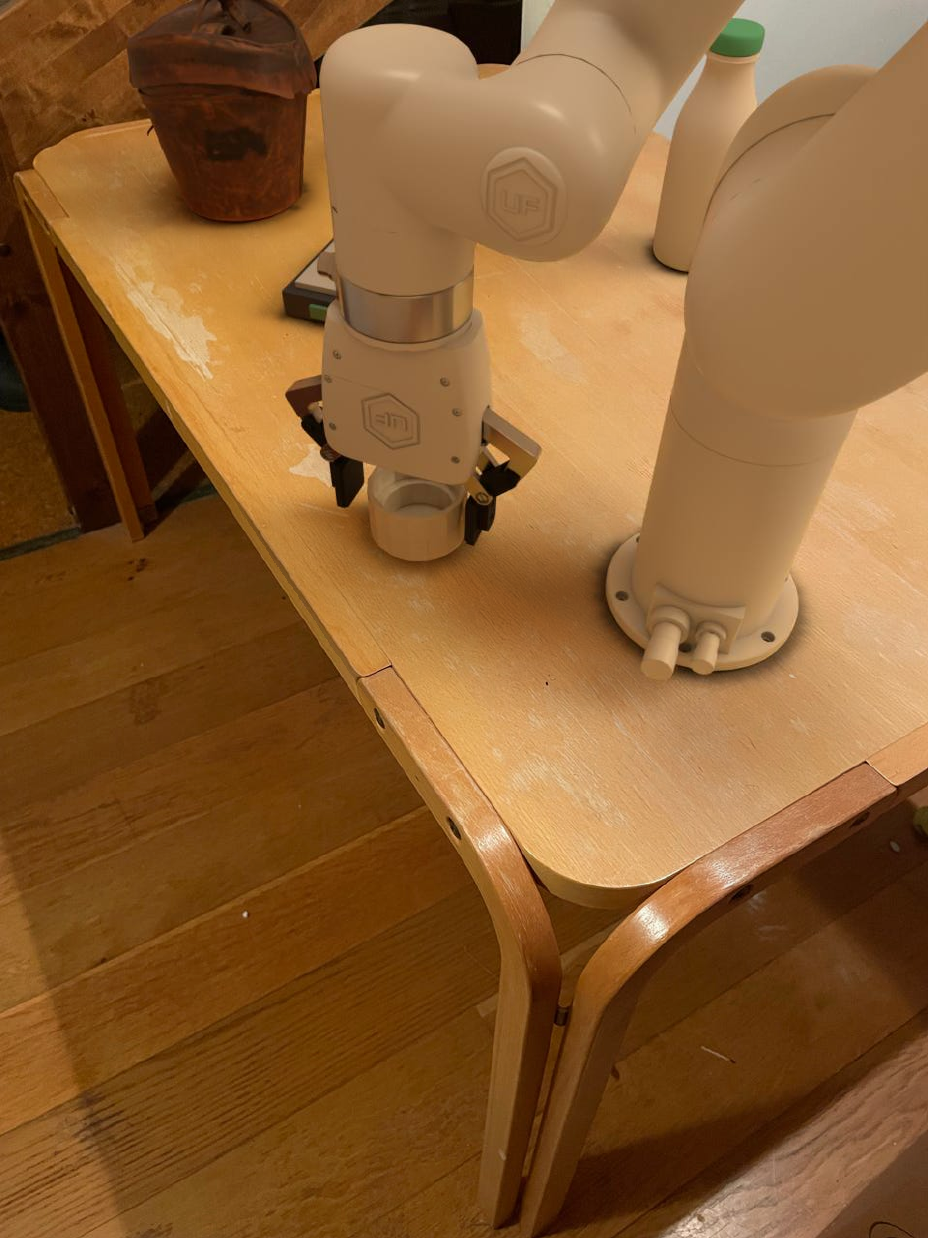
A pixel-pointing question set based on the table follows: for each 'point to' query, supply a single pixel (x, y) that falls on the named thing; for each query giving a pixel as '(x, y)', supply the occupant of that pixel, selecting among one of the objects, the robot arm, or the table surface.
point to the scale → (310, 292)
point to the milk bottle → (706, 139)
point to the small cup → (415, 515)
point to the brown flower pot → (227, 103)
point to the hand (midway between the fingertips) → (412, 513)
